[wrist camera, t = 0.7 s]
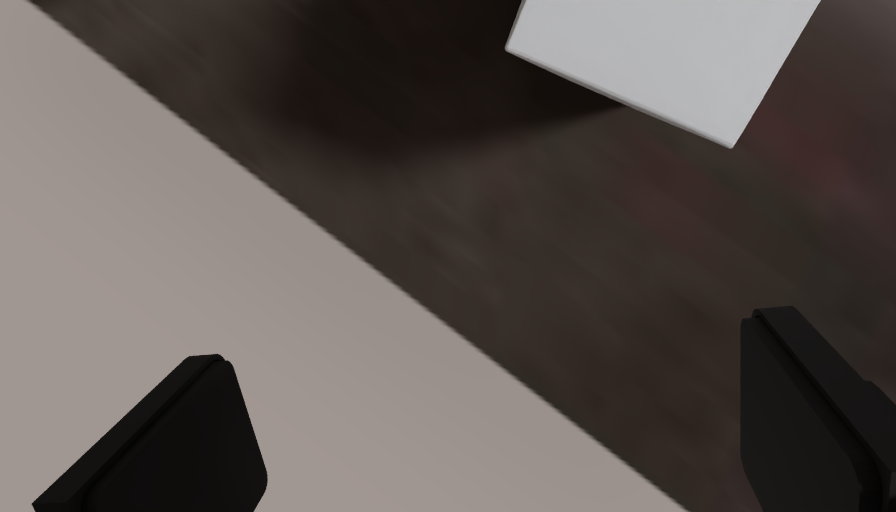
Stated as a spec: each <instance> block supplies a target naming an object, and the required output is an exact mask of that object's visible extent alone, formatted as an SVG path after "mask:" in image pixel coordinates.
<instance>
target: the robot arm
mask: <svg viewBox="0 0 896 512" xmlns="http://www.w3.org/2000/svg"><path fill="white" fill-rule="evenodd" d="M740 450H741V460H742V464H743V468H744V471H745V474H746V476H747V478H748V480H749V482H750V484H751V487H752V489H753V491H754V493H755V495H756V497H757V499H758V501H759V503H760V505H761V507H762V509H763V511H764V512H896V405H895V404H894V403H893V402H892V401H891V400H890V399H889V398H888V397H887V396H886V395H885V393H884V392H883V391H882V390H881V389H880V388H879V387H878V386H876V385H875V384H874V383H872V382H871V381H866V380H863V379H862V377H861V376H860V375H859V374H858V373H857V372H856V371H855V370H854V369H853V368H852V367H851V366H850V365H849V364H848V363H847V362H846V361H845V360H844V359H843V357H842V356H841V355H840V354H839V353H838V352H837V351H836V350H835V349H834V348H833V347H832V346H831V345H830V344H829V343H828V342H827V341H826V340H825V339H824V338H823V336H822V335H821V334H820V333H819V332H818V331H817V330H816V329H815V328H814V327H813V326H812V325H811V324H810V323H809V322H808V321H807V320H806V319H805V318H804V316H803V315H802V314H801V313H800V312H799V311H798V310H797V309H796V308H795V307H793V306H786V307H774V308H762V309H755V310H754V311H753V314H752V318H744V319H743V320H742V322H741V444H740ZM266 486H267V471H266V468H265V465H264V461H263V458H262V455H261V452H260V449H259V446H258V443H257V440H256V436H255V433H254V430H253V427H252V424H251V421H250V418H249V415H248V412H247V408H246V405H245V402H244V399H243V396H242V393H241V389H240V387H239V383H238V380H237V377H236V374H235V371H234V368H233V365H232V364H231V363H230V362H229V361H225V359H224V358H223V357H222V356H221V355H219V354H213V355H199V356H189V357H187V358H186V359H185V360H183V361H182V363H180V364H179V366H177V367H176V368H175V369H174V370H173V371H172V372H171V373H170V374H169V375H168V376H167V377H165V379H163V380H162V381H161V382H160V383H159V384H158V385H157V386H156V387H155V388H154V389H153V390H152V391H151V392H150V393H148V394H147V395H146V396H145V397H144V398H143V399H142V400H141V401H140V402H139V403H138V404H137V405H136V406H135V407H134V408H133V409H132V410H130V411H129V412H128V413H127V414H126V415H125V416H124V417H123V418H122V419H121V420H120V421H119V422H118V423H117V424H116V425H115V426H113V428H111V429H110V430H109V431H108V432H107V433H106V434H105V435H104V436H103V437H102V438H101V439H100V440H99V441H98V442H97V443H95V444H94V445H93V446H92V447H91V448H90V449H89V450H88V451H87V452H86V453H85V454H84V455H83V456H82V457H81V458H80V459H79V460H77V461H76V462H75V463H74V464H73V465H72V466H71V467H70V468H69V469H68V470H67V471H66V472H65V473H64V474H63V475H62V476H60V477H59V478H58V479H57V480H56V481H55V482H54V483H53V484H52V485H51V486H50V487H49V488H48V489H47V490H46V491H45V492H44V493H42V494H41V495H40V496H39V497H38V498H37V499H36V500H35V501H34V502H33V503H32V506H33V507H34V510H35V512H254V510H255V508H256V506H257V505H258V503H259V501H260V500H261V498H262V496H263V494H264V492H265V490H266Z"/></svg>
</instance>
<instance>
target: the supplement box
mask: <svg viewBox="0 0 896 512" xmlns="http://www.w3.org/2000/svg"><path fill="white" fill-rule="evenodd" d="M819 2H820V0H522V2H521V5H520V7H519V10H518V13H517V15H516V18H515V21H514V24H513V26H512V29H511V32H510V34H509V37H508V40H507V43H506V45H505V50H506V51H507V52H509V53H511V54H513V55H515V56H517V57H520V58H522V59H524V60H526V61H528V62H530V63H532V64H535V65H537V66H539V67H541V68H543V69H545V70H548V71H550V72H552V73H554V74H556V75H558V76H561V77H563V78H565V79H567V80H569V81H571V82H574V83H576V84H578V85H581V86H583V87H585V88H587V89H590V90H592V91H594V92H597V93H599V94H601V95H604V96H606V97H608V98H611V99H613V100H615V101H617V102H620V103H622V104H625V105H627V106H629V107H632V108H634V109H636V110H639V111H641V112H643V113H646V114H648V115H651V116H653V117H655V118H658V119H660V120H662V121H665V122H667V123H670V124H672V125H674V126H677V127H679V128H682V129H684V130H687V131H689V132H691V133H694V134H696V135H699V136H701V137H704V138H706V139H709V140H711V141H713V142H716V143H718V144H720V145H722V146H725V147H727V148H733V147H734V145H735V143H736V142H737V140H738V138H739V137H740V135H741V133H742V132H743V130H744V129H745V127H746V125H747V123H748V122H749V120H750V118H751V117H752V115H753V114H754V112H755V110H756V109H757V107H758V105H759V104H760V102H761V100H762V98H763V97H764V95H765V93H766V92H767V90H768V88H769V86H770V85H771V83H772V81H773V80H774V78H775V76H776V74H777V73H778V71H779V69H780V68H781V66H782V64H783V62H784V61H785V59H786V57H787V56H788V54H789V52H790V51H791V49H792V47H793V46H794V44H795V42H796V41H797V39H798V37H799V36H800V34H801V32H802V31H803V29H804V27H805V25H806V24H807V22H808V20H809V19H810V17H811V15H812V14H813V12H814V10H815V9H816V7H817V5H818V4H819Z"/></svg>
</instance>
